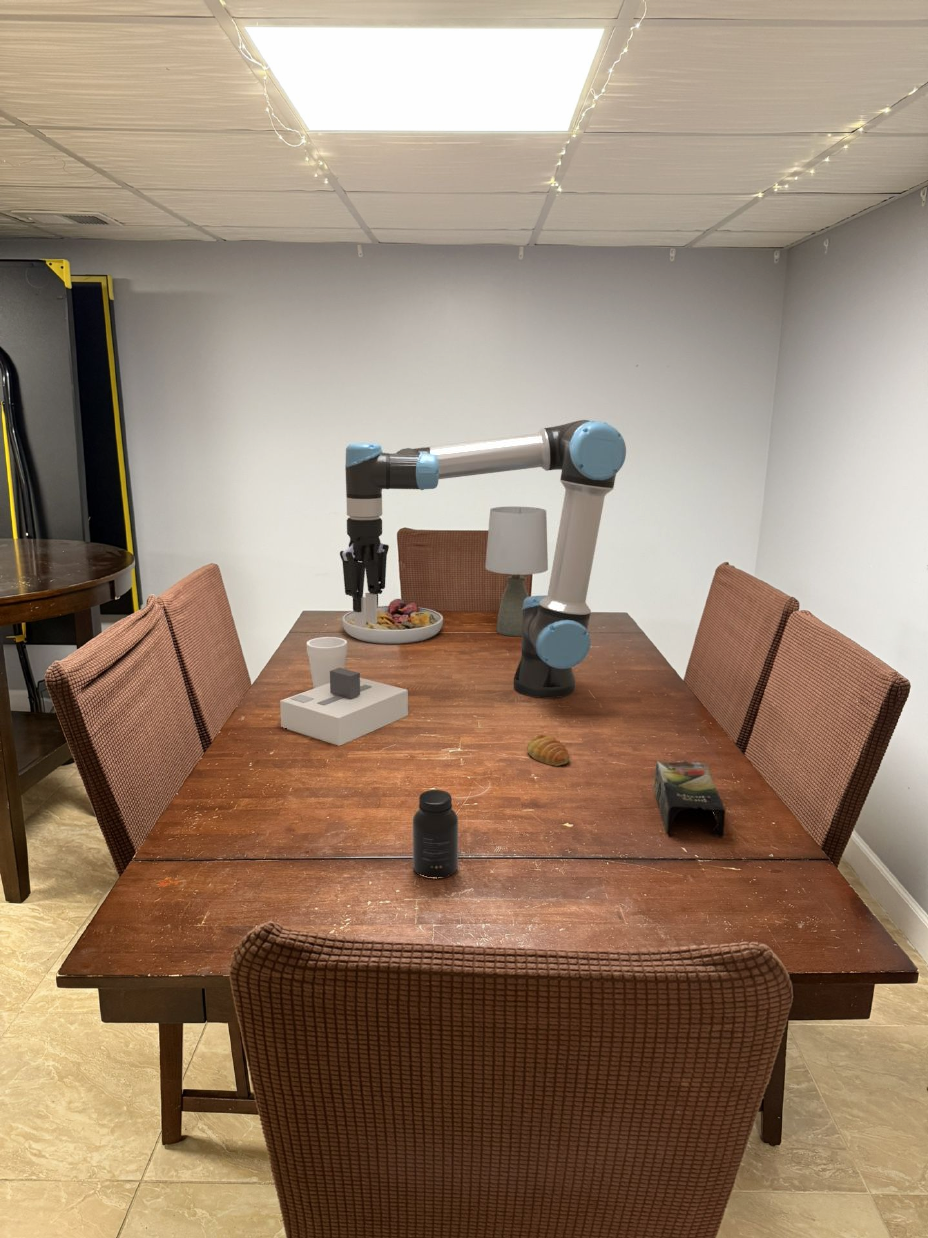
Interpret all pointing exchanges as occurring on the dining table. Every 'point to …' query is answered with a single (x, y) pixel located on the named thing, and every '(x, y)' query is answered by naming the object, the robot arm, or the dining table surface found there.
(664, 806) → the juice carton
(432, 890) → the dining table surface
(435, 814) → the supplement bottle
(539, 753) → the pastry
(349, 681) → the knob
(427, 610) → the bowl
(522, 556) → the lamp
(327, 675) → the foam cup
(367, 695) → the switch panel
